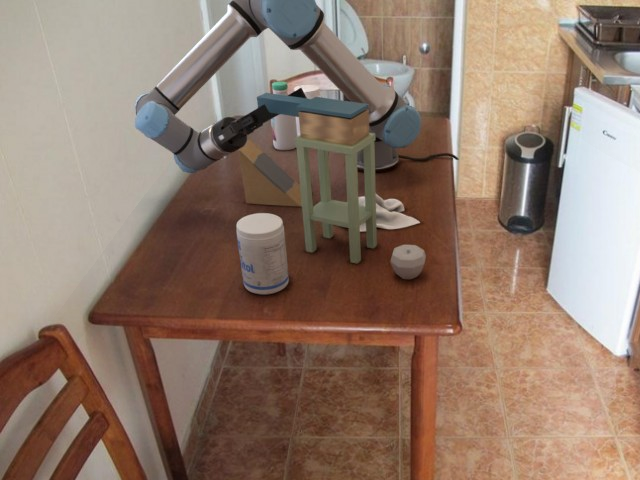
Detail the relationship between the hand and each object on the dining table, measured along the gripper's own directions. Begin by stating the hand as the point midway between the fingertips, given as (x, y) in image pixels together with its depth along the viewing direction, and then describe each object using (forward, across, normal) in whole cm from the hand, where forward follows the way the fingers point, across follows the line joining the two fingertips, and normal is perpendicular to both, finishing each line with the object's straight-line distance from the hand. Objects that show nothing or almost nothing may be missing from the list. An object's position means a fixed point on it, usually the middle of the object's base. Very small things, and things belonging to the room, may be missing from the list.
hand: (286, 101), depth 141 cm
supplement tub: (-12, +21, -31) cm, 39 cm away
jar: (-50, -65, -9) cm, 83 cm away
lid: (+4, 0, -5) cm, 6 cm away
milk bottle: (-50, -51, -9) cm, 72 cm away
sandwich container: (-32, -17, -20) cm, 41 cm away
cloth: (-7, -19, -34) cm, 40 cm away
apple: (+10, +4, -44) cm, 45 cm away
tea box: (+7, 0, -11) cm, 13 cm away
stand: (-6, 0, -34) cm, 35 cm away
